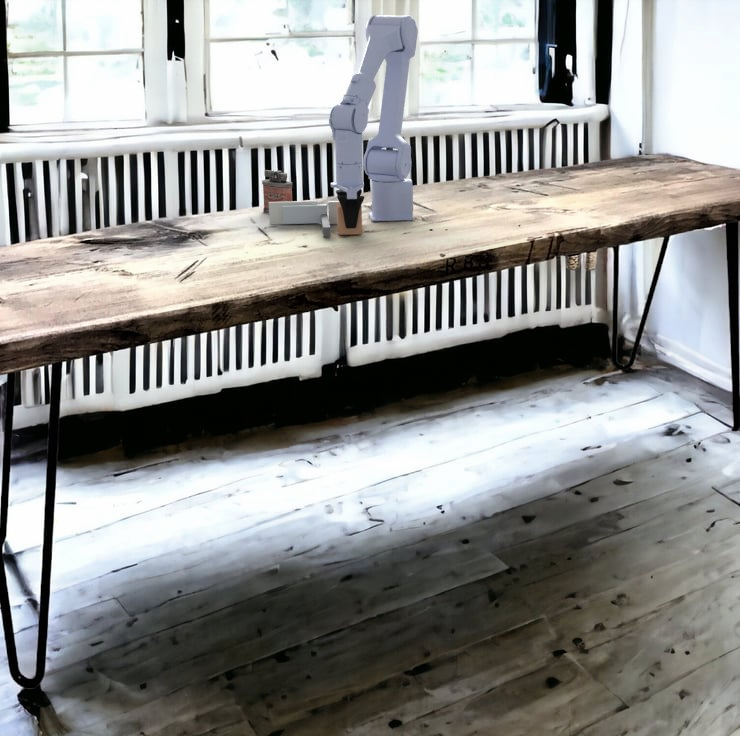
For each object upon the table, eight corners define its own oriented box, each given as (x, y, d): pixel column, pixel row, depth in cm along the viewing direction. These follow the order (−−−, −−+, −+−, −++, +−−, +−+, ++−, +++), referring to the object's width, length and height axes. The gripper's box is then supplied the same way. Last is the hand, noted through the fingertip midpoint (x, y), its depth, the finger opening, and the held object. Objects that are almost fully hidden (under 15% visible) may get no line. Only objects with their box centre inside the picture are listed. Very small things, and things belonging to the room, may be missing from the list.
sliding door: (327, 221, 233) (326, 204, 232) (330, 236, 221) (329, 217, 219) (282, 223, 232) (282, 205, 231) (283, 237, 220) (282, 219, 218)
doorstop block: (360, 229, 226) (360, 202, 224) (362, 234, 222) (361, 206, 220) (337, 230, 225) (337, 203, 223) (338, 234, 222) (338, 207, 220)
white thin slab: (358, 221, 235) (357, 199, 233) (358, 223, 233) (358, 201, 231) (269, 224, 233) (268, 202, 231) (269, 225, 231) (268, 203, 230)
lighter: (296, 213, 242) (294, 171, 239) (287, 216, 240) (286, 173, 236) (269, 210, 247) (267, 168, 243) (260, 212, 244) (258, 170, 240)
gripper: (328, 156, 225) (330, 218, 230) (332, 169, 211) (333, 234, 216) (360, 156, 225) (361, 217, 230) (366, 168, 212) (367, 233, 217)
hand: (350, 225), depth 223 cm, fingers closed on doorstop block, 4 cm apart
